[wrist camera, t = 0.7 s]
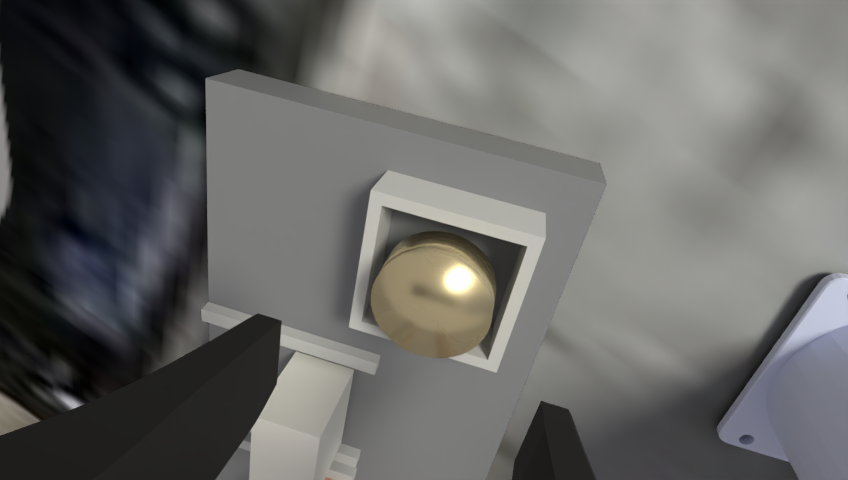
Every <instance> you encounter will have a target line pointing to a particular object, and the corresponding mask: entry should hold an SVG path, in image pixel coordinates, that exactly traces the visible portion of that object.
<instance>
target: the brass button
mask: <svg viewBox="0 0 848 480" xmlns="http://www.w3.org/2000/svg"><path fill="white" fill-rule="evenodd" d="M496 289H497V282H496V276H495V272H494V269H493V266H492V264H491V263H490V261H489V259H488V258H487V256H486V255H485V254H484V253H483V252H482V251H481V250H480V249H479V248H478V247H477V246H476V245H475V244H473V243H472V242H470V241H469V240H467V239H465V238H463V237H461V236H459V235H456V234H453V233H449V232H444V231H426V232H420V233H417V234H414V235H412V236H409V237H407V238H406V239H404V240H402V241H401V242H400V243H399V244H398V245H397V246H396V247H395V248H394V249H393V251H392V252H391V254H390V255H389V257H388V259H387V260H386V262H385V264H384V266H383V267H382V269H381V271H380V272H379V274H378V276H377V278H376V279H375V282H374V284H373V287H372V291H371V307H372V312H373V314H374V317H375V319H376V321H377V323H378V325H379V327H380V328H381V330H382V331H383V332H384V333H385V334H386V336H388V337H389V338H390V339H391V340H392V341H393V342H394V343H396V344H397V345H398V346H400V347H402V348H403V349H405V350H407V351H409V352H412V353H414V354H417V355H421V356H424V357H430V358H449V357H455V356H458V355H461V354H464V353H466V352H468V351H470V350H472V349H473V348H475V347H476V346H477V345H478V344H479V343H480V342H481V341H482V340H483V339H484V338H485V336H486V334H487V333H488V330H489V328H490V325H491V321H492V315H493V309H494V303H495V297H496Z"/></svg>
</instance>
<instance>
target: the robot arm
mask: <svg viewBox="0 0 848 480" xmlns="http://www.w3.org/2000/svg"><path fill="white" fill-rule="evenodd" d="M847 295H848V275H847V274H842V273H835V274H830V275H828V276H826V277H824V278H823V279H822V280H821V281H820V282H819V283H818V285H817V286H816V287H815V289H814V290H813V292H812V293H811V294H810V296H809V297H808V299H807V300H806V301H805V303H804V304H803V306H802V307H801V309H800V310H799V311H798V313H797V314H796V316H795V317H794V318H793V320H792V321H791V323H790V324H789V325H788V327H787V328H786V330H785V331H784V333H783V334H782V335H781V337H780V338H779V340H778V341H777V342H776V344H775V345H774V347H773V348H772V349H771V351H770V352H769V354H768V355H767V357H766V358H765V359H764V361H763V362H762V364H761V365H760V366H759V368H758V369H757V371H756V372H755V373H754V375H753V376H752V378H751V379H750V381H749V382H748V383H747V385H746V386H745V388H744V389H743V390H742V392H741V393H740V395H739V396H738V397H737V399H736V400H735V402H734V403H733V404H732V406H731V407H730V409H729V410H728V412H727V413H726V414H725V416H724V417H723V419H722V420H721V421H720V423H719V424H718V426H717V432H718V435H719V438H720V439H721V440H722V441H723V442H725V443H728V444H731V445H734V446H738V447H741V448H744V449H747V450H751V451H754V452H757V453H760V454H764V455H767V456H770V457H773V458H777V459H780V460H783V461H786V462H790V464H791V466H792V468H793V470H794V471H795V473H796V475H797V477H798V479H799V480H848V296H847ZM281 324H282V321H281V320H278V319H275V318H272V317H268V316H265V315H262V314H259V313H257V314H255V315H253V316H252V317H250V318H248V319H246V320H245V321H243V322H241V323H240V324H238V325H236V326H235V327H233V328H231V329H230V330H228V331H226V332H224V333H223V334H221V335H219V336H218V337H216V338H214V339H213V340H211V341H209V342H207V343H206V344H204V345H202V346H201V347H199V348H197V349H195V350H193V351H192V352H190V353H188V354H186V355H185V356H183V357H181V358H179V359H177V360H176V361H174V362H172V363H170V364H168V365H166V366H164V367H163V368H161V369H159V370H157V371H155V372H153V373H151V374H149V375H147V376H145V377H143V378H141V379H139V380H137V381H135V382H133V383H131V384H129V385H127V386H125V387H123V388H121V389H118V390H116V391H114V392H112V393H110V394H108V395H105V396H103V397H101V398H99V399H96V400H94V401H91V402H89V403H87V404H84V405H82V406H80V407H77V408H75V409H72V410H70V411H67V412H65V413H62V414H59V415H57V416H54V417H51V418H48V419H46V420H43V421H40V422H37V423H35V424H32V425H29V426H26V427H24V428H21V429H18V430H15V431H13V432H10V433H7V434H4V435H1V436H0V480H216V478H217V477H218V475H219V474H220V473H221V471H222V470H223V468H224V467H225V466H226V464H227V463H228V461H229V460H230V459H231V457H232V456H233V454H234V453H235V451H236V450H237V449H238V447H239V446H240V444H241V443H242V442H243V440H244V439H245V437H246V436H247V434H248V433H249V432H250V430H251V429H252V427H253V426H254V424H255V423H256V421H257V419H258V418H259V416H260V414H261V412H262V411H263V409H264V407H265V405H266V403H267V401H268V400H269V398H270V396H271V394H272V392H273V390H274V388H275V386H276V385H277V376H278V363H279V350H280V337H281ZM743 435H748V436H745V437H741V436H743ZM512 480H596V478H595V475H594V473H593V470H592V468H591V465H590V463H589V460H588V458H587V455H586V453H585V450H584V448H583V445H582V443H581V440H580V437H579V435H578V432H577V429H576V426H575V424H574V421H573V418H572V415H571V413H570V412H569V410H568V409H565V408H562V407H559V406H556V405H552V404H549V403H546V402H543V401H541V402H540V405H539V407H538V409H537V412H536V414H535V416H534V418H533V421H532V423H531V425H530V427H529V430H528V432H527V434H526V436H525V439H524V441H523V443H522V445H521V448H520V450H519V452H518V454H517V457H516V459H515V463H514V470H513V477H512Z"/></svg>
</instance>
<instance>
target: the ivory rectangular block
mask: <svg viewBox="0 0 848 480" xmlns="http://www.w3.org/2000/svg"><path fill="white" fill-rule="evenodd" d="M353 373H354V369H351V368H347V367H344V366H341V365H338V364H335V363H332V362H328V361H325V360H322V359H319V358H316V357H313V356H309V355H306V354H303V353H300V352H297V351H296V352H295V354H294V355H293V357H292V358H291V360H290V361H289V362H288V364H287V365H286V367H285V368H284V370H283V371H282V373H281V374H280V376H279V377H278V379H277V385H276V386H275V388H274V390H273V392H272V394H271V396H270V398H269V400H268V401H267V403H266V405H265V407H264V409H263V411H262V412H261V414H260V416H259V418H258V419H257V421H256V423H255V424H254V426H253V427H252V429H251V450H250V472H249V480H324V479H325V477H326V475H327V473H328V471H329V468H330V466H331V464H332V462H333V459H334V457H335V455H336V453H337V450H338V448H339V446H340V444H341V441H342V435H343V430H344V424H345V418H346V413H347V407H348V402H349V396H350V390H351V385H352V379H353Z"/></svg>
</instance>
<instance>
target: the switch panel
mask: <svg viewBox="0 0 848 480" xmlns="http://www.w3.org/2000/svg"><path fill="white" fill-rule="evenodd" d="M206 146H207V222H208V298H209V302H208V303H207V304H206V305H205V306H204V307H203V308H202V309H201V321H204V322H208V323H209V341H211V340H213V339H214V338H216V337H218V336H219V335H221V334H223V333H224V332H226V331H228V330H230V329H231V328H233V327H235V326H236V325H238V324H240V323H241V322H243V321H245V320H246V319H248V318H250V317H252V316H253V315H255V314H257V313H259V314H262V315H265V316H268V317H272V318H275V319H278V320H281V321H282V324H281V337H280V350H279V363H278V376H277V379H278V377H279V376H280V374H281V373H282V371H283V370H284V368H285V367H286V365H287V364H288V362H289V361H290V360H291V358H292V357H293V355H294V354H295V352H296V351H297V352H300V353H303V354H306V355H309V356H313V357H316V358H319V359H322V360H325V361H328V362H332V363H335V364H338V365H341V366H344V367H347V368H351V369H354V373H353V379H352V385H351V390H350V396H349V402H348V407H347V413H346V418H345V424H344V430H343V435H342V441H341V444H340V446H339V448H338V450H337V453H336V455H335V457H334V459H333V462H332V464H331V466H330V468H329V471H328V473H327V475H326V477H328V478H331V479H334V480H486V477H487V475H488V473H489V470H490V468H491V465H492V463H493V460H494V458H495V455H496V453H497V451H498V448H499V446H500V443H501V441H502V438H503V436H504V434H505V431H506V429H507V426H508V424H509V421H510V419H511V416H512V414H513V412H514V409H515V407H516V404H517V402H518V399H519V397H520V395H521V392H522V390H523V387H524V385H525V382H526V380H527V377H528V375H529V373H530V370H531V368H532V365H533V363H534V360H535V358H536V356H537V353H538V351H539V348H540V346H541V343H542V341H543V338H544V336H545V334H546V331H547V329H548V326H549V324H550V321H551V319H552V317H553V314H554V312H555V309H556V307H557V304H558V302H559V299H560V297H561V295H562V292H563V290H564V287H565V285H566V282H567V280H568V278H569V275H570V273H571V270H572V268H573V265H574V263H575V260H576V258H577V256H578V253H579V251H580V248H581V246H582V243H583V241H584V238H585V236H586V234H587V231H588V229H589V226H590V224H591V221H592V219H593V217H594V214H595V212H596V209H597V207H598V204H599V202H600V199H601V197H602V195H603V192H604V190H605V187H606V185H607V184H606V181H605V177H604V174H603V171H602V168H601V165H600V163H596V162H592V161H588V160H584V159H580V158H577V157H573V156H569V155H565V154H561V153H557V152H554V151H550V150H546V149H542V148H538V147H534V146H531V145H527V144H523V143H519V142H515V141H511V140H508V139H504V138H500V137H496V136H492V135H489V134H485V133H481V132H477V131H473V130H469V129H466V128H462V127H458V126H454V125H450V124H446V123H443V122H439V121H435V120H431V119H427V118H423V117H420V116H416V115H412V114H408V113H404V112H400V111H397V110H393V109H389V108H385V107H381V106H378V105H374V104H370V103H366V102H362V101H358V100H355V99H351V98H347V97H343V96H339V95H335V94H332V93H328V92H324V91H320V90H316V89H312V88H309V87H305V86H301V85H297V84H293V83H289V82H286V81H282V80H278V79H274V78H270V77H267V76H263V75H259V74H255V73H251V72H247V71H244V70H240V69H238V70H234V71H231V72H227V73H223V74H219V75H216V76H212V77H208V78H206ZM426 231H444V232H449V233H453V234H456V235H459V236H461V237H463V238H465V239H467V240H469V241H470V242H472V243H473V244H475V245H476V246H477V247H478V248H479V249H480V250H481V251H482V252H483V253H484V254H485V255H486V256H487V258H488V259H489V261H490V263H491V264H492V266H493V269H494V272H495V276H496V282H497V289H496V297H495V303H494V309H493V315H492V321H491V325H490V328H489V330H488V333H487V334H486V336H485V338H484V339H483V340H482V341H481V342H480V343H479V344H478V345H477V346H476V347H475V348H473V349H472V350H470V351H468V352H466V353H464V354H461V355H458V356H455V357H449V358H430V357H424V356H421V355H417V354H414V353H412V352H409V351H407V350H405V349H403V348H402V347H400V346H398V345H397V344H396V343H394V342H393V341H392V340H391V339H390V338H389V337H388V336H386V334H385V333H384V332H383V331H382V330H381V328H380V327H379V325H378V323H377V321H376V319H375V317H374V314H373V312H372V307H371V291H372V287H373V284H374V282H375V279H376V278H377V276H378V274H379V272H380V271H381V269H382V267H383V266H384V264H385V262H386V260H387V259H388V257H389V255H390V254H391V252H392V251H393V249H394V248H395V247H396V246H397V245H398V244H399V243H400V242H401V241H402V240H404V239H406V238H407V237H409V236H412V235H414V234H417V233H420V232H426ZM250 450H251V430H250V432H249V433H248V434H247V436H246V437H245V439H244V440H243V442H242V443H241V444H240V446H239V447H238V449H237V450H236V451H235V453H234V454H233V456H232V457H231V459H230V460H229V461H228V463H227V464H226V466H225V467H224V468H223V470H222V471H221V473H220V474H219V475H218V477H217V478H216V480H249V472H250Z"/></svg>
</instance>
